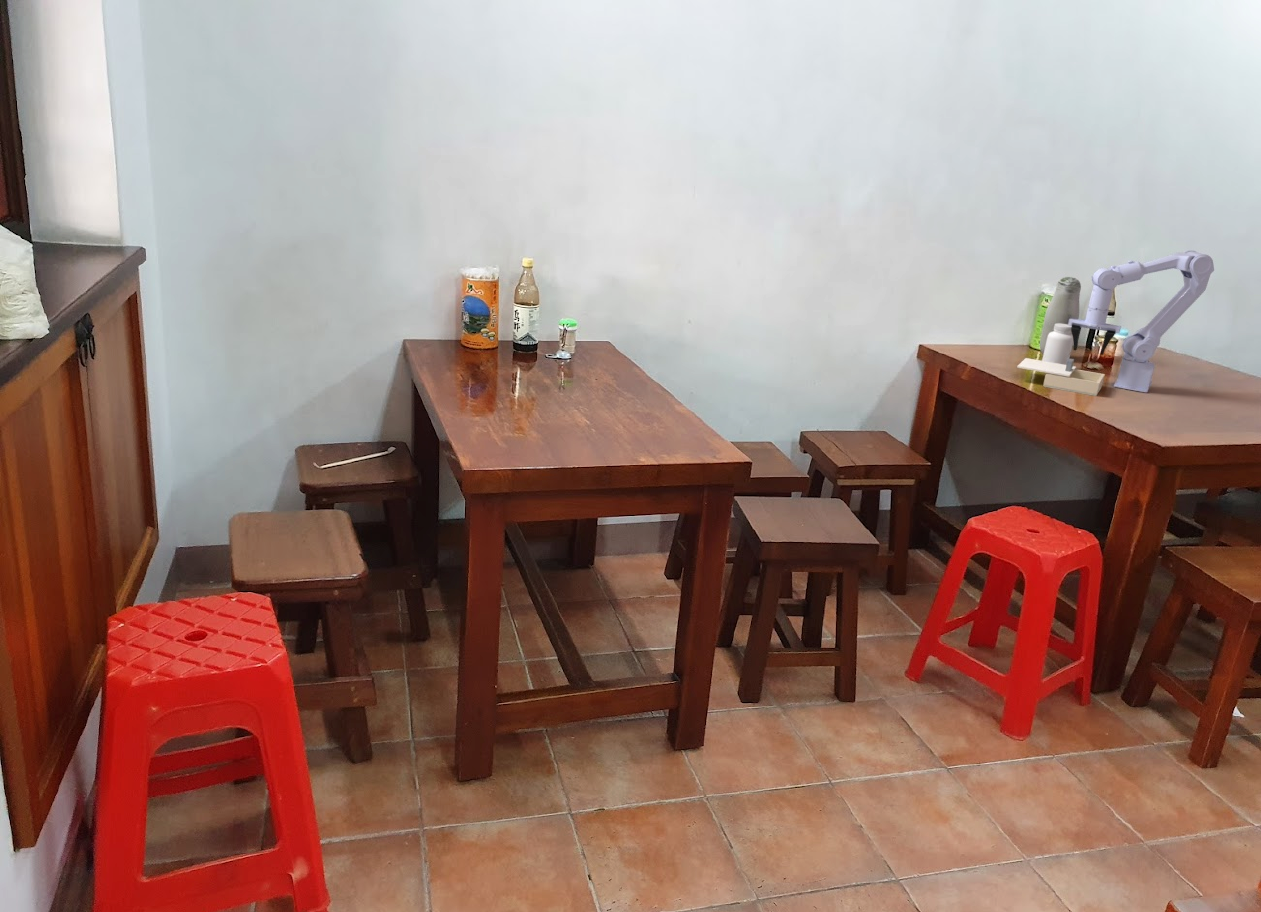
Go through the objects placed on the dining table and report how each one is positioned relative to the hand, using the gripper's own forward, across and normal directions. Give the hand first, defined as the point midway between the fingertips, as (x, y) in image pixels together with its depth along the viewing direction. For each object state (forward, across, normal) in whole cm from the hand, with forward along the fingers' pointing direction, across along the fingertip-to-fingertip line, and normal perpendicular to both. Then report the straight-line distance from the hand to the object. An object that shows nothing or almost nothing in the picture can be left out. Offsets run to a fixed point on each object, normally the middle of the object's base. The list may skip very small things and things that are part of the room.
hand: (1088, 352), depth 295 cm
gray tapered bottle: (+10, -13, +30) cm, 34 cm away
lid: (+6, -10, -7) cm, 13 cm away
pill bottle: (+10, -10, +12) cm, 19 cm away
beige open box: (+10, -2, -7) cm, 12 cm away
